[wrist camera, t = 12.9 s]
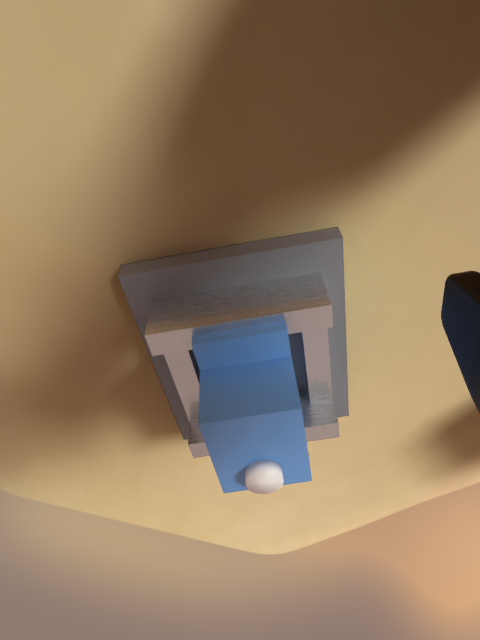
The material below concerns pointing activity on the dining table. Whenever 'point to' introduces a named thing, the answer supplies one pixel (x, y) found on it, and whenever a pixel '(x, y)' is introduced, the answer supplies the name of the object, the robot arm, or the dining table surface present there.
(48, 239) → the dining table surface
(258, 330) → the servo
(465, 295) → the robot arm
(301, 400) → the grey shallow tray
